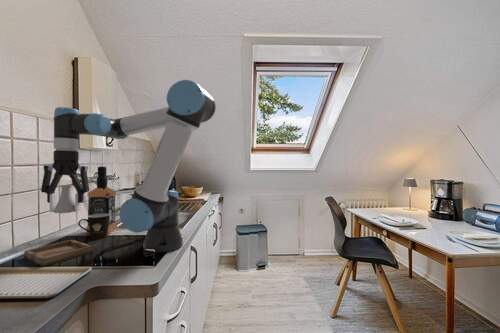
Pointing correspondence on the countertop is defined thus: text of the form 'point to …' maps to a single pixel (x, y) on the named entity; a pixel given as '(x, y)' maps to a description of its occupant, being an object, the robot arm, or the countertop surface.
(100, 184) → the whiskey bottle
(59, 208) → the flask
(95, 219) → the coffee mug
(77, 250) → the walnut tray
